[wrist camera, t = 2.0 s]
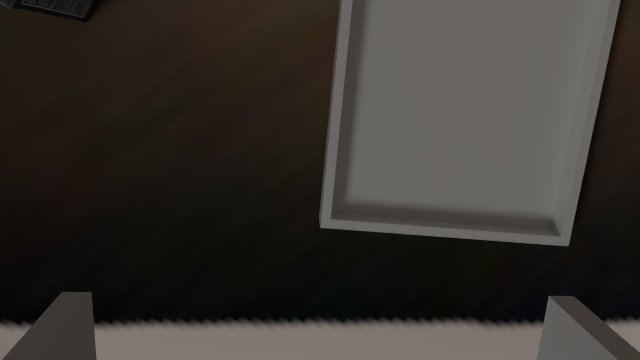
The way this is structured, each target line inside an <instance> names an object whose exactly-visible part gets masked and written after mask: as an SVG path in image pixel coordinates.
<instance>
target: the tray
mask: <svg viewBox="0 0 640 360" xmlns="http://www.w3.org/2000/svg"><path fill="white" fill-rule="evenodd" d="M620 1H621V0H340V7H339V17H338V27H337V38H336V48H335V59H334V69H333V80H332V90H331V101H330V111H329V122H328V132H327V143H326V153H325V164H324V174H323V184H322V195H321V205H320V216H319V221H320V228H333V229H346V230H359V231H373V232H386V233H399V234H413V235H426V236H439V237H453V238H466V239H479V240H493V241H506V242H519V243H533V244H546V245H560V246H568V245H569V240H570V236H571V231H572V226H573V222H574V217H575V212H576V208H577V203H578V198H579V193H580V189H581V184H582V179H583V175H584V170H585V165H586V161H587V156H588V151H589V146H590V142H591V137H592V132H593V128H594V123H595V118H596V113H597V109H598V104H599V99H600V95H601V90H602V85H603V81H604V76H605V71H606V66H607V62H608V57H609V52H610V48H611V43H612V38H613V33H614V29H615V24H616V19H617V15H618V10H619V5H620Z"/></svg>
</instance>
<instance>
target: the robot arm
mask: <svg viewBox="0 0 640 360" xmlns="http://www.w3.org/2000/svg"><path fill="white" fill-rule="evenodd" d="M3 360H96V348H95V335H94V322H93V308H92V295H91V292H62V293H61V294H60V295H59V296H58V297H57V298H56V300H55V301H54V302H53V303H52V304H51V305H50V306H49V307H48V309H47V310H46V311H45V312H44V313H43V314H42V315H41V316H40V318H39V319H38V320H37V321H36V322H35V323H34V324H33V325H32V327H31V328H30V329H29V330H28V331H27V332H26V333H25V335H24V336H23V337H22V338H21V339H20V340H19V341H18V342H17V344H16V345H15V346H14V347H13V348H12V349H11V350H10V351H9V353H8V354H7V355H6V356H5V357H4V358H3ZM537 360H640V353H639V352H638V351H637V350H636V349H635V348H634V347H632V346H631V345H630V344H629V343H627V341H625V340H624V339H623V338H622V337H620V336H619V335H618V334H617V333H616V332H615V331H613V330H612V329H611V328H610V327H609V326H608V325H607V324H605V323H604V322H603V321H602V320H601V319H599V318H598V317H597V316H596V315H595V314H594V313H592V312H591V311H590V310H589V309H588V308H587V307H585V306H584V305H583V304H582V303H581V302H580V301H578V300H577V299H576V298H575V297H574V296H549V299H548V304H547V309H546V314H545V320H544V325H543V330H542V336H541V341H540V346H539V352H538V357H537Z"/></svg>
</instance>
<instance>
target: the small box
mask: <svg viewBox="0 0 640 360" xmlns="http://www.w3.org/2000/svg"><path fill="white" fill-rule="evenodd" d="M96 1H97V0H0V3H1V4H3V5H4V6H6V7H8V8H11V9H21V10H28V11H32V12H37V13H41V14H45V15H51V16H55V17H61V18H65V19H70V20H75V21H77V22H80V23H85V22H86V20H87V18H88V16H89V14H90V12H91V10H92V9H93V7H94V5H95V3H96Z"/></svg>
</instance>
